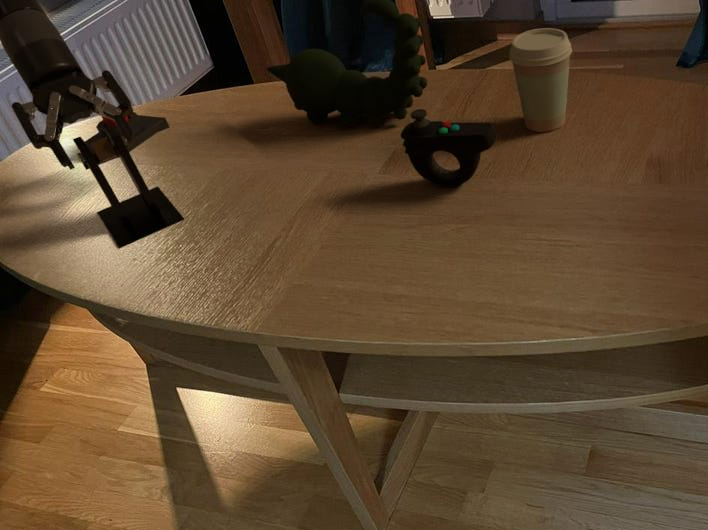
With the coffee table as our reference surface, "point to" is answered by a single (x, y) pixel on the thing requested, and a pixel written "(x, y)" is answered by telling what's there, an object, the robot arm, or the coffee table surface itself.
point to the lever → (102, 151)
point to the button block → (133, 129)
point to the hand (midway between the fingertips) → (101, 154)
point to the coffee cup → (542, 76)
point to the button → (111, 121)
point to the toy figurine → (358, 76)
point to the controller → (446, 147)
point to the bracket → (136, 212)
